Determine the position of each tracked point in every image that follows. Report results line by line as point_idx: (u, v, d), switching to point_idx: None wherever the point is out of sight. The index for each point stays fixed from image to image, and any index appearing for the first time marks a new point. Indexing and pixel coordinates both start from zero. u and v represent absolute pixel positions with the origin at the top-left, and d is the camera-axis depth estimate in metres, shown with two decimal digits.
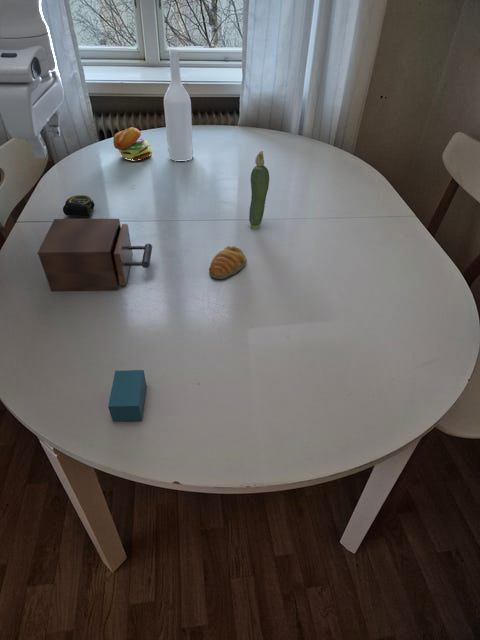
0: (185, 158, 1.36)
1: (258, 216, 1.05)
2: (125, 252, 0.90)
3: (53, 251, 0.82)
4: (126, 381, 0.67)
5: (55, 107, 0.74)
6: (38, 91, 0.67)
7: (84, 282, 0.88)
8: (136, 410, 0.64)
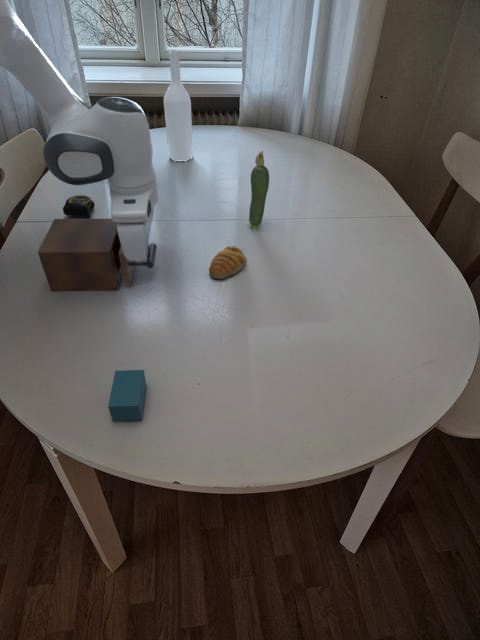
0: (185, 158, 1.36)
1: (258, 216, 1.05)
2: None
3: (53, 251, 0.82)
4: (126, 381, 0.67)
5: (151, 223, 0.89)
6: None
7: (84, 282, 0.88)
8: (136, 410, 0.64)
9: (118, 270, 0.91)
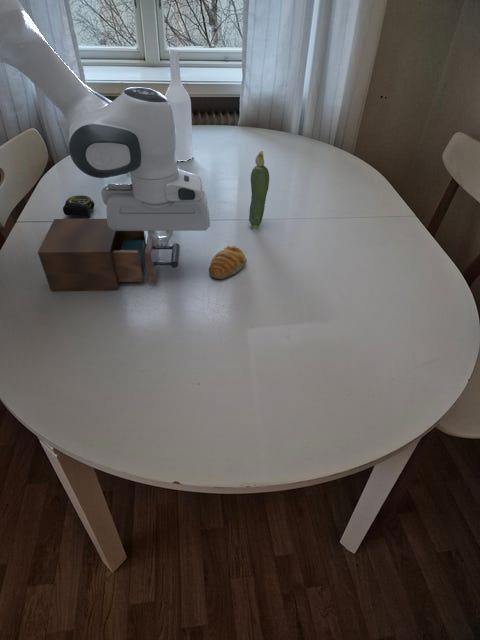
0: (185, 158, 1.36)
1: (258, 216, 1.05)
2: (154, 252, 0.90)
3: (53, 251, 0.82)
4: (130, 245, 0.91)
5: None
6: None
7: (84, 282, 0.88)
8: None
9: None
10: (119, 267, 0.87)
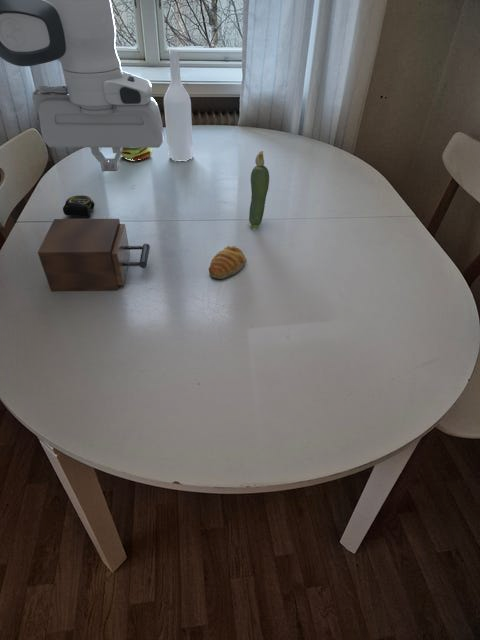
0: (185, 158, 1.36)
1: (258, 216, 1.05)
2: (123, 252, 0.89)
3: (53, 251, 0.82)
4: None
5: None
6: None
7: (84, 282, 0.88)
8: None
9: None
10: None
